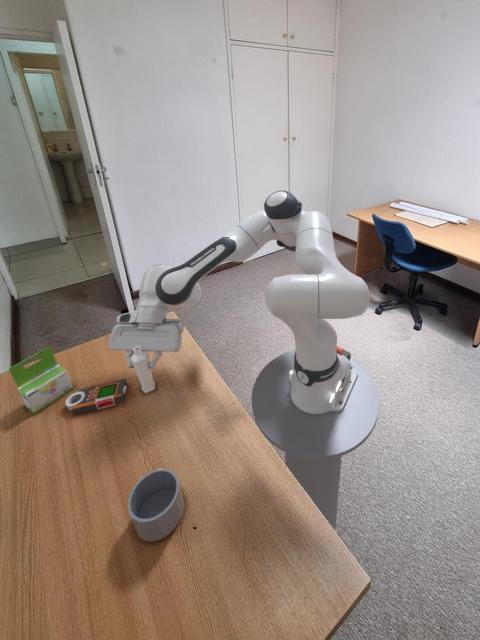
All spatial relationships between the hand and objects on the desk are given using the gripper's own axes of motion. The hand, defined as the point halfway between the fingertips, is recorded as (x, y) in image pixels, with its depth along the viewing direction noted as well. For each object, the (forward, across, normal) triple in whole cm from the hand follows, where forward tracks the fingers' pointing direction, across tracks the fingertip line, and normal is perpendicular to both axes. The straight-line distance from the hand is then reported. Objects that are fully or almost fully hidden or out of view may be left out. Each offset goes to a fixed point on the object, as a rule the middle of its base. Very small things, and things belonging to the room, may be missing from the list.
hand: (141, 368), depth 92 cm
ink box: (+9, +27, -4) cm, 28 cm away
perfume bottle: (+6, 0, -6) cm, 9 cm away
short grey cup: (+27, -17, +16) cm, 36 cm away
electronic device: (+9, +12, -3) cm, 15 cm away
